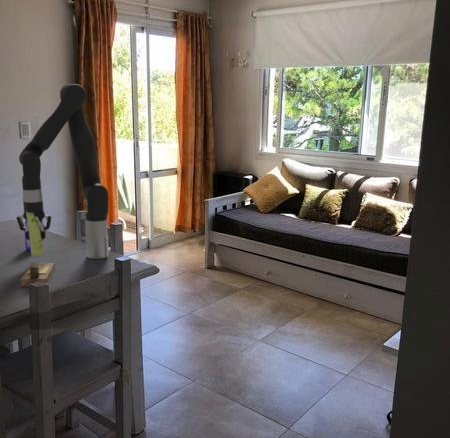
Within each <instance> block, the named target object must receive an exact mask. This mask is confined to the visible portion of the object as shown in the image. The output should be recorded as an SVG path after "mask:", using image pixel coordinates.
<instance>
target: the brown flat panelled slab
mask: <svg viewBox="0 0 450 438" xmlns="http://www.w3.org/2000/svg"><path fill="white" fill-rule="evenodd" d="M55 271H56V263H55V262H39V263H38V262H37V263H36V262H33V263H32V262H31V263H30V265H29V266H28V268H27V269H26V271H24V272H25V273H24V274H23V275H22V277H21V279H20V285H21V286H28V285H29V284H30V283H35V282H45V283H48V284H49V282H50V281H51V279H52V276H53V275H54V272H55Z"/></svg>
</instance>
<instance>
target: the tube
mask: <svg viewBox="0 0 450 438" xmlns="http://www.w3.org/2000/svg"><path fill="white" fill-rule="evenodd" d="M26 215H27V222H28V229H29V237H30V247H31V251H30V254H31V256H41V255H43V254H44V251H45V250H44V240H42V237H41V228H40V227H39V225H38V224H37V222H36V219H35V216H34V214H33V213H27V212H26Z"/></svg>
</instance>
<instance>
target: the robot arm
mask: <svg viewBox="0 0 450 438" xmlns="http://www.w3.org/2000/svg"><path fill="white" fill-rule="evenodd" d="M59 92H60V93H59V97H60V102H59V104H58V106H57V107H56V109H55V110H54V112H53V113H52V114H51V115H50V116H49V117H48V118H47V119H46V120H45V121H44V122H43V123H42V124H41V126H40V127H39V129H38V130H37V132H36V133H35V135H34V136H33V138H32V139H31V141H30V142H28V144H27V145H26V146H25V147H24V148H23V150H22V151H21V153H20V154H19V158H18V161H19V163H20V165H21V166H22V175H23V176H22V178H21V182H22V202H23V203H22V204H23V214H21V215H17V217H16V221H17V225H18V227H19V229H20V231H23V232H24V231H25V232H26V239H28V240H30V237H29V229H28V222H27V225H26V224H25V223H24V222H23V221H24V220H25V221H27V215H26V212H27V213H33V214H34V216H35V219H36V222H37V224H38V225H39V227H40V228H41V237H42V240H43V241H44V240H45V239H46V237H47V234H46V231H48V230H49V229H50V227H51V222H52V218H53V215H52V214H46V213H45V211H44V199H43V192H42V181H41V171H42V166H41V158H40V157H41V156H42V155H43V154H44V152H45V151H48V149H49V148H50V147H51V146H52V144H53V142H54V141H55V140H56V138H57V137H58V135H59V134H60V133H61V131H62V130H63V128H64V126H65V125H66V124H68V130H69V134H70V135H69V136H70V140H71V146H72V150H73V153H74V157H75V160H76V165H77V167H78V170H79V174H80V178H81V179H80V181H81V188H82V194H83V198H84V199H85V200H86V202H87V203H86V205H87V206H86V207H87V209H86V210H87V211H86V212H85V215H84V216H85V242H86V244H85V245H86V258H88V259H92V260H101V259H107V258H109V235H108V214H109V192H108V189H107V187H105V186H104V185H102V184H101V181H100V178H99V175H98V170H97V169H98V168H97V161H98V157H97V155H98V154H97V147H96V143H95V142H96V141H95V138H94V135H93V132H92V130H91V128H90V125H89V124H88V121H87V119H86V117H85V111H84V107H83V105H84V104H85V102H86V100H87V95H88V94H87V90H86V89H85V88H84V87H83V86H82V85H80V84H77V83H68V84H65V85H63V86H62V87H61V89H60V91H59ZM44 218H45V220H46V226H45V224H44V222H43V220H44ZM25 225H26V227H25Z"/></svg>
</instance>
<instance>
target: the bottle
mask: <svg viewBox="0 0 450 438" xmlns="http://www.w3.org/2000/svg"><path fill="white" fill-rule="evenodd" d="M26 225H27V221H26V220H25V221H24V227H26ZM23 233H24V241H25V242H24V244H25V247H24V248H25V250H26V251H28V252H31V247H30V240H28V239H26V232H25V231H23Z"/></svg>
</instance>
